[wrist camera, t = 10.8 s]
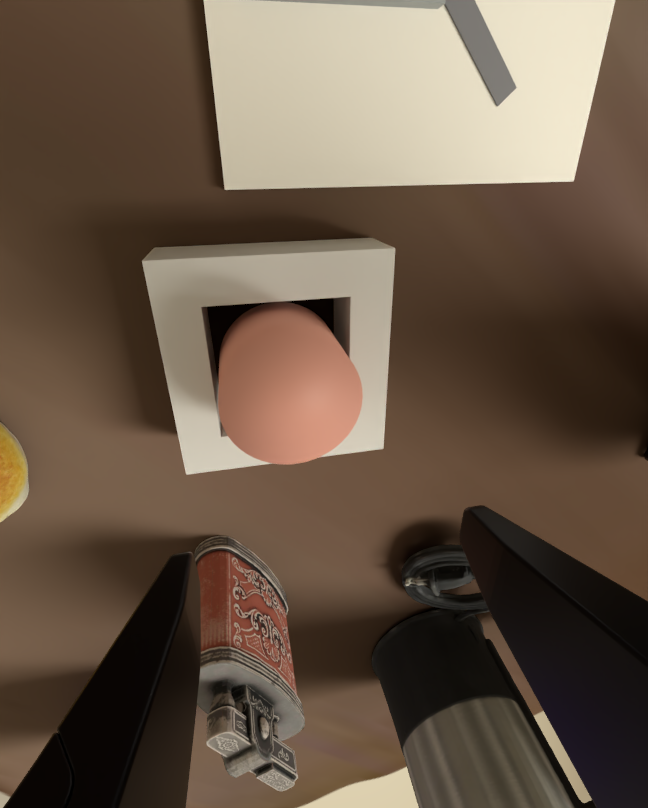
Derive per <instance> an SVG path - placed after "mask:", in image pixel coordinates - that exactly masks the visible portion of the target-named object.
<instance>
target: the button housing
mask: <svg viewBox="0 0 648 808" xmlns="http://www.w3.org/2000/svg"><path fill="white" fill-rule="evenodd" d="M394 263H395V248H394V247H392V246H389V245H387V244H385V243H383V242H380V241H378V240H376V239H374V238H354V239H331V240H309V241H287V242H265V243H243V244H221V245H199V246H177V247H155V248H153V249H152V250H151V251H150V253H149V254H148V255H147V256H146V257H145V258H144V259H143V260H142V264H143V269H144V274H145V279H146V284H147V288H148V293H149V298H150V303H151V308H152V312H153V317H154V322H155V327H156V332H157V336H158V341H159V346H160V351H161V356H162V360H163V365H164V370H165V375H166V380H167V384H168V389H169V394H170V399H171V404H172V409H173V413H174V418H175V423H176V428H177V433H178V437H179V442H180V447H181V452H182V457H183V461H184V466H185V471H186V475H187V474H195V473H202V472H210V471H218V470H225V469H233V468H241V467H248V466H256V465H263V464H271V463H268V462H264V461H261V460H258V459H256V458H253V457H252V456H250V455H248V454H246V453H245V452H243V451H242V450H241V449H239V448H238V447H237V446H236V445H235V444H234V443H233V442H232V441H231V439H230V438H229V437H228V435H227V434H226V432H225V430H224V428H223V426H222V423H221V420H220V416H219V409H218V390H219V385H218V378H217V371H216V364H215V358H214V351H213V344H212V337H211V330H210V323H209V317H208V310H207V307H208V306H223V305H237V304H252V303H266V302H281V301H296V300H310V299H325V298H334V336H335V338H336V339H337V341H338V342H339V344H340V345H341V347H342V348H343V350H344V351H345V353H346V354H347V356H348V357H349V359H350V360H351V361H352V363H353V364H354V366H355V368H356V370H357V372H358V374H359V377H360V380H361V384H362V392H363V399H362V407H361V411H360V414H359V417H358V420H357V422H356V424H355V425H354V427H353V429H352V430H351V432H350V433H349V435H348V436H347V437H346V438H345V439H344V440H343V441H342V442H341V443H340V444H339V445H338V446H337V447H335V448H334V449H333V450H331V451H330V452H328V453H326V454H324V455H323V456H321V457H324V456H332V455H339V454H347V453H355V452H362V451H370V450H377V449H383V447H384V431H385V414H386V397H387V380H388V364H389V347H390V330H391V313H392V297H393V280H394Z"/></svg>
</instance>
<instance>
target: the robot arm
mask: <svg viewBox="0 0 648 808" xmlns="http://www.w3.org/2000/svg"><path fill="white" fill-rule="evenodd" d="M644 457H645V459H646V460H647V461H648V448H647V451H646V453H645V456H644ZM460 542H461V546H462V548H463V550H464V553H465V555H466V558H467V560H468V562H469V565H470V567H471V570H472V572H473V574H474V577H475V579H476V581H477V584H478V586H479V589H480V591H481V593H482V596H483V598H484V600H485V602H486V605H487V607H488V609H489V611H490V613H491V615H492V617H493V619H494V621H495V622H496V624H497V626H498V628H499V630H500V632H501V633H502V635H503V637H504V639H505V641H506V643H507V644H508V646H509V648H510V650H511V652H512V654H513V655H514V657H515V659H516V661H517V663H518V665H519V666H520V668H521V670H522V672H523V674H524V676H525V677H526V679H527V681H528V683H529V685H530V687H531V688H532V690H533V692H534V694H535V696H536V698H537V699H538V701H539V703H540V705H541V707H542V709H543V710H544V712H545V714H546V716H547V718H548V719H549V721H550V723H551V725H552V727H553V729H554V730H555V732H556V734H557V736H558V738H559V740H560V741H561V743H562V745H563V747H564V749H565V751H566V752H567V754H568V756H569V758H570V760H571V762H572V763H573V765H574V767H575V769H576V771H577V773H578V775H579V776H580V778H581V780H582V782H583V784H584V785H585V787H586V789H587V791H588V793H589V795H590V796H591V798H592V800H593V802H594V804H595V806H596V807H597V808H648V601H646V600H645V599H643V598H641V597H639V596H638V595H636V594H634V593H633V592H631V591H629V590H627V589H626V588H624V587H622V586H621V585H619V584H617V583H615V582H614V581H612V580H610V579H609V578H607V577H605V576H604V575H602V574H600V573H598V572H597V571H595V570H593V569H592V568H590V567H588V566H586V565H585V564H583V563H581V562H580V561H578V560H576V559H574V558H573V557H571V556H569V555H568V554H566V553H564V552H563V551H561V550H559V549H557V548H556V547H554V546H552V545H551V544H549V543H547V542H545V541H544V540H542V539H540V538H539V537H537V536H535V535H533V534H532V533H530V532H528V531H527V530H525V529H523V528H521V527H520V526H518V525H516V524H515V523H513V522H511V521H510V520H508V519H506V518H504V517H503V516H501V515H499V514H498V513H496V512H494V511H492V510H491V509H489V508H487V507H485V506H481V505H480V506H474V507H468V508H466V509H465V510H464V513H463V518H462V523H461V529H460ZM200 665H201V602H200V580H199V575H198V570H197V566H196V561H195V557H194V554H193V553H192V552H184V553H178V554H173V555H172V556H171V557H170V558H169V559H168V561H167V562H166V564H165V565H164V567H163V568H162V570H161V572H160V573H159V575H158V576H157V578H156V579H155V581H154V582H153V584H152V585H151V587H150V588H149V590H148V591H147V593H146V594H145V596H144V597H143V599H142V600H141V602H140V603H139V605H138V607H137V608H136V610H135V611H134V613H133V614H132V616H131V617H130V619H129V620H128V622H127V623H126V625H125V626H124V628H123V629H122V631H121V632H120V634H119V635H118V637H117V638H116V640H115V641H114V643H113V645H112V646H111V648H110V649H109V651H108V652H107V654H106V655H105V657H104V658H103V660H102V661H101V663H100V664H99V666H98V667H97V669H96V670H95V672H94V673H93V675H92V676H91V678H90V679H89V681H88V683H87V684H86V686H85V687H84V689H83V690H82V692H81V693H80V695H79V696H78V698H77V699H76V701H75V702H74V704H73V705H72V707H71V708H70V710H69V711H68V713H67V714H66V716H65V717H64V719H63V721H62V722H61V724H60V725H59V727H58V729H57V730H58V733H59V734H58V733H54V734H53V735H52V737H51V738H50V740H49V741H48V743H47V744H46V746H45V748H44V749H43V751H42V752H41V754H40V755H39V757H38V758H37V760H36V761H35V763H34V764H33V765H32V767H31V768H30V770H29V771H28V773H27V774H26V776H25V777H24V779H23V780H22V781H21V783H20V784H19V786H18V787H17V789H16V790H15V792H14V793H13V795H12V796H11V798H10V799H9V800H8V802H7V803H6V804H5V806H4V807H3V808H186V799H187V790H188V781H189V771H190V762H191V753H192V744H193V734H194V725H195V716H196V707H197V698H198V688H199V679H200Z"/></svg>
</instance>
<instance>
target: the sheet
mask: <svg viewBox="0 0 648 808" xmlns="http://www.w3.org/2000/svg"><path fill="white" fill-rule="evenodd" d="M614 3H615V0H204V9H205V18H206V27H207V36H208V45H209V54H210V63H211V72H212V80H213V89H214V98H215V107H216V116H217V125H218V134H219V143H220V152H221V161H222V170H223V179H224V188H225V190H243V189H284V188H324V187H365V186H406V185H447V184H487V183H528V182H569V181H574V177H575V173H576V169H577V164H578V160H579V156H580V151H581V147H582V143H583V138H584V134H585V130H586V125H587V121H588V117H589V112H590V108H591V104H592V99H593V95H594V90H595V86H596V82H597V77H598V73H599V69H600V64H601V60H602V56H603V51H604V47H605V43H606V38H607V34H608V30H609V25H610V21H611V17H612V12H613V8H614Z"/></svg>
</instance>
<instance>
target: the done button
mask: <svg viewBox="0 0 648 808" xmlns="http://www.w3.org/2000/svg"><path fill="white" fill-rule="evenodd" d="M362 399H363V392H362V384H361V380H360V377H359V374H358V372H357V370H356V368H355V366H354V364H353V363H352V361H351V360H350V359H349V357H348V356H347V354H346V353H345V351H344V350H343V348H342V347H341V345H340V344H339V342H338V341H337V339H336V338H335V336H334V335H333V333H332V332H331V330H330V329H329V327H328V326H327V325H326V323H325V322H324V321H323V320H322V319H321V318H320V317H319V316H318V315H317V314H315V313H314V312H313V311H311V310H309V309H307V308H305V307H303V306H300V305H297V304H294V303H288V302H272V303H266V304H262V305H259V306H256V307H254V308H252V309H250V310H248V311H247V312H245V313H244V314H242V315H241V316H240V317H238V318H237V319H236V320H235V321H234V322H233V323H232V325H231V326H230V327H229V329H228V330H227V332H226V334H225V336H224V338H223V341H222V344H221V348H220V356H219V390H218V409H219V416H220V420H221V423H222V426H223V428H224V430H225V432H226V434H227V435H228V437H229V438H230V439H231V441H232V442H233V443H234V444H235V445H236V446H237V447H238V448H239V449H241V450H242V451H243V452H245V453H246V454H248V455H250V456H252V457H253V458H256V459H258V460H261V461H264V462H268V463H274V464H298V463H303V462H307V461H310V460H313V459H316V458H318V457H321V456H323V455H324V454H326V453H328V452H330V451H331V450H333V449H334V448H335V447H337V446H338V445H339V444H340V443H341V442H342V441H343V440H344V439H345V438H346V437H347V436H348V435H349V433H350V432H351V430H352V429H353V427H354V425H355V424H356V422H357V420H358V417H359V414H360V411H361V407H362Z"/></svg>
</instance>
